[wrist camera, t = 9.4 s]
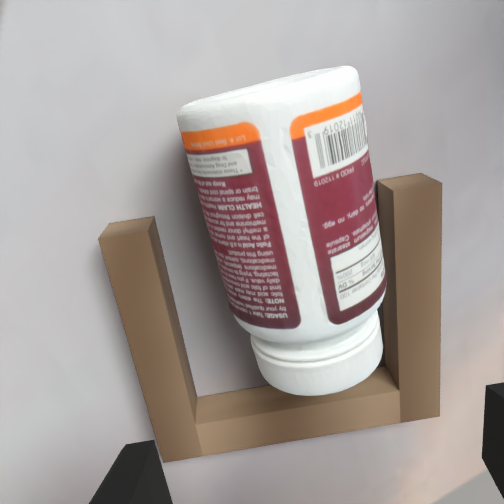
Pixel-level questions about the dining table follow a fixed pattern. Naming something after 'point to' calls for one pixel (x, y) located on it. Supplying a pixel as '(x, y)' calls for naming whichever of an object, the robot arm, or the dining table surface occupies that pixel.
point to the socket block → (268, 397)
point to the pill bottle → (294, 223)
